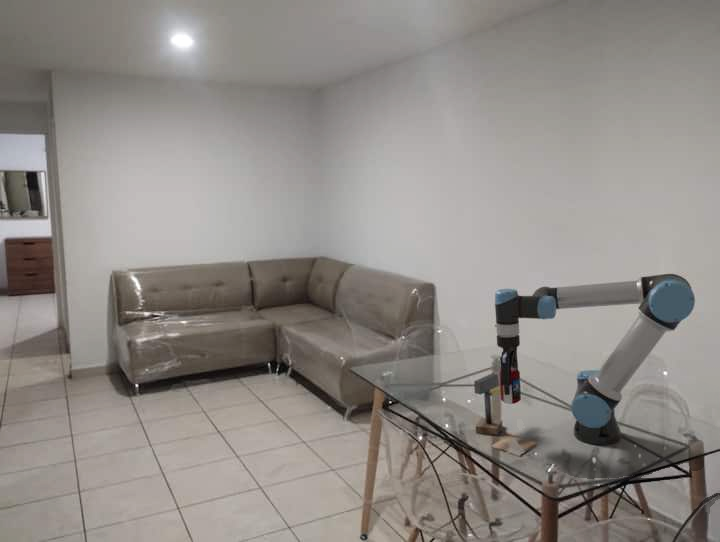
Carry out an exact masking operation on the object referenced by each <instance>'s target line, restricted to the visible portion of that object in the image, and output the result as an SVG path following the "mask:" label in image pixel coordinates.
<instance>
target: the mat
mask: <svg viewBox="0 0 720 542" xmlns="http://www.w3.org/2000/svg"><path fill="white" fill-rule="evenodd" d="M512 439H515V440H516V441H517V442H518V444H519V446H520V447H521V448H522V449H523V451H526V452H528V451H529V450H531V449H532V448H533V447H535V446H537V445H538V444H537V442H535V441H531V440H528V439H524V438H521V437H518V436H514V435H510V434H507V436H505V437H502V439H500V440H498V441H497V442H495V443H494V444H492V445H491V449H494V450H498V451H501V452H504V453H507V452H509V445H508V442H509V441H511V440H512Z"/></svg>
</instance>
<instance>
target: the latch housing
mask: <svg viewBox="0 0 720 542" xmlns="http://www.w3.org/2000/svg"><path fill="white" fill-rule="evenodd" d="M502 428H503V419H495V418H492V423H490V424H488V423H486V417H485V418H484V417H481V418H480V419H479V420H478V422H477V423H476V424H475V433H476V434H485V435H493V436H498V435H499V434H500V431H501V430H502Z"/></svg>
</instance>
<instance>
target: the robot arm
mask: <svg viewBox="0 0 720 542" xmlns="http://www.w3.org/2000/svg"><path fill="white" fill-rule="evenodd" d="M518 293H519V292H518V290H517V289H514V288H501V289H498V290H497V291H495V294H494V296H495V297H494V308H495V311H494V312H495V324H494V328H496V334H497V335H496V345H497V347H499V348H501V349H502V351H501V355H500V357H499V362H500V370H501V383H500V382H499V386H500V385H503V393H504V401H503V403H504V404H508V403H509V404H510V405H513V404H512V385H511V366H516V367H517V369H518V370H519V364H518V363H519V362H518V347H519V346H520V343H521V340H520V339H521V338H520V323H519V322H520V321H519V319H532V320H533V319H538V320H550V319H554V318H555V317H556V313H557V310H561V309H562V310H564V309H579V308H590V307H591V308H592V307H593V308H595V307H607V306H622V305H623V306H625V305H636V304H639V306H638V307H637V310H638V316H637V318H636V319H635V321H634V322H633V323H632V325H631V326H630V328H629V329H628V330H627V332H626V333H625V334H624V336H623V337H622V339H621V340H620V342H619V343H618V344H617V346H616V347H615V348H614V349H613V351H612V353H611V354H610V355H609V357H608V358H607V359H606V361H605V362H604V364H603V365H602V366H601V368H600V369H599V370H596V369H593V370H592V369H588V370H581V371H579V372H578V373H577V376H576V381H577V383H576V385H577V387H576V391H575V394H574V397H573V399H572V401H571V413H572V416H573V417H574V419H575V423H574V426H573V435H574V437H575V438H576V439H577V440H579V441H581V442H582V443H586V444H592V445H596V446H597V445H599V446H601V445H602V446H603V445H604V446H605V445H612V444H614V443H617V442H619V441H620V440H621V438H622V436H621V429H620V426H619V422H618V421H617V418H616V414H615V408H617V406H618V405H619V403H620V402H621V400H622V399H623V395H622V391H623V389H624V388H625V387H626V385H627V384H629V383H628V382H629V381H630V380H631V379H632V377H633V376H634V374H636V373H637V371H638V369H639V368H640V366H641V365H643V363H644V362H645V360H646V359H647V358H648V356H649V355H650V354H651V352H652V351H653V349H654V348H655V347H656V346H657V344H658V343H659V341H660V340H661V339H662V337H663V336H664V335H665V334H666V332H673V331H675V329H676V328H677V327H678V326H679V325H680V323H681V322H682V321H684V319H687V318H688V317H689V316H690V315H691V313H692V312H693V310H694V307H695V302H696V298H695V293H694V291H693V290H692V286H691V284H690V282H688V280H687V279H686V278H685V277H683V276H681V275H678V274H676V273H663V274H655V275H649V276H648V275H647V276H640V277H639V278H638V279H637V280H627V281H615V282H604V283H593V284H591V283H590V284H583V285H582V284H581V285H569V286H561V287H560V286H558V287H550V286H541V287H539V288H537V289H536V290H535V291H534V292H533V294H532V295H519V294H518ZM509 404H508V405H509Z"/></svg>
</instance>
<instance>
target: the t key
mask: <svg viewBox="0 0 720 542" xmlns="http://www.w3.org/2000/svg"><path fill="white" fill-rule="evenodd" d="M473 383H474V393H475V395H476V394H477V395H483V398H484V399H483V400H484V415H485V418H486V423H488V424H490V423H492V419H493V417H492V402H491V401H492V400H491V398H492V396H495V395H497V394H499V393H501V392H500V383H499V374H497V373H493V372H492V373H490V374H487V375H486V376H484V377H481V378H479V379H476V380H474V382H473Z"/></svg>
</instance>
